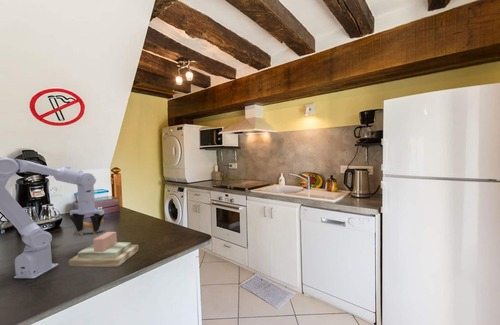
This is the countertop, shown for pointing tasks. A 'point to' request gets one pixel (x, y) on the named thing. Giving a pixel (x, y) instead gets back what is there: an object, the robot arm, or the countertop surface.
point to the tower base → (103, 260)
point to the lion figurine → (89, 226)
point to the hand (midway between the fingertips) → (88, 230)
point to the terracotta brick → (105, 241)
